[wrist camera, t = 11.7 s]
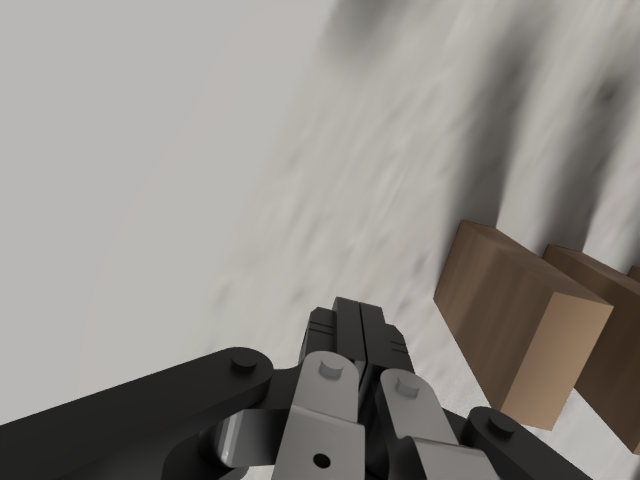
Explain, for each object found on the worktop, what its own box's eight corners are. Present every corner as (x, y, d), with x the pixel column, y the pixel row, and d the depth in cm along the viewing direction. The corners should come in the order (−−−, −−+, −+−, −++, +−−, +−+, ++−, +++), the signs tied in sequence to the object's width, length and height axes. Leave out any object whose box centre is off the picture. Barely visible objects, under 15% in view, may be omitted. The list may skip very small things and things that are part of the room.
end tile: (495, 228, 22) (614, 306, 13) (465, 307, 24) (551, 430, 14) (461, 219, 22) (554, 291, 13) (433, 299, 24) (497, 418, 14)
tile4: (582, 252, 22) (763, 347, 13) (546, 329, 24) (685, 466, 14) (548, 243, 22) (705, 332, 13) (514, 321, 24) (632, 453, 14)
